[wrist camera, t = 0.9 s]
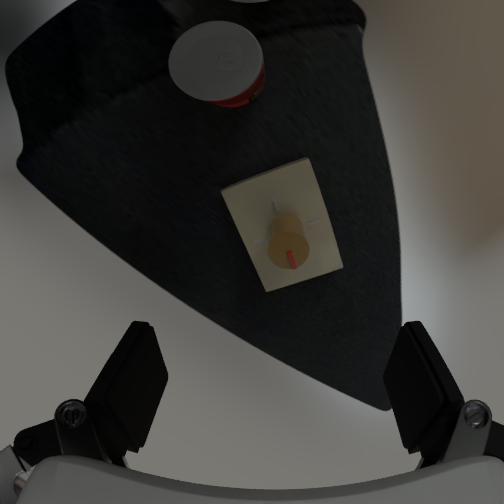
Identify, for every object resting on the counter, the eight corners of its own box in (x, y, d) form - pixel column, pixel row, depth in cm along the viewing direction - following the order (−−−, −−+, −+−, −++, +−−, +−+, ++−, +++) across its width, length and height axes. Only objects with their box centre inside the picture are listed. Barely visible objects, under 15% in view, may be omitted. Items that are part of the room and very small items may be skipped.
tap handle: (263, 221, 34) (261, 240, 29) (297, 209, 33) (302, 226, 28) (275, 252, 36) (276, 275, 30) (308, 241, 35) (315, 263, 29)
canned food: (266, 107, 30) (263, 98, 20) (199, 110, 30) (167, 105, 20) (265, 48, 26) (262, 17, 16) (198, 53, 27) (167, 27, 17)
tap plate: (223, 187, 34) (220, 191, 32) (306, 156, 32) (309, 158, 30) (266, 284, 40) (266, 293, 38) (340, 260, 38) (343, 268, 36)
